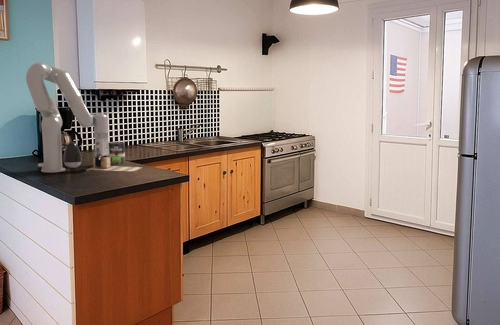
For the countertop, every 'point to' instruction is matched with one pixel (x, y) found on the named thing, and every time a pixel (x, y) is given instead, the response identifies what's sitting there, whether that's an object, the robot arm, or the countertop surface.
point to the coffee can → (116, 153)
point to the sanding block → (103, 163)
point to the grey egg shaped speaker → (72, 155)
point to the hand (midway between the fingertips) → (101, 165)
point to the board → (117, 168)
